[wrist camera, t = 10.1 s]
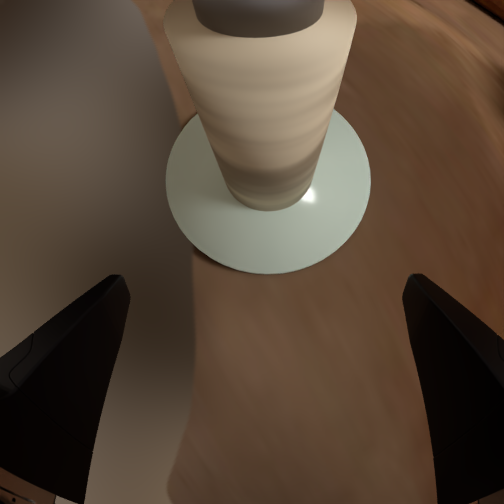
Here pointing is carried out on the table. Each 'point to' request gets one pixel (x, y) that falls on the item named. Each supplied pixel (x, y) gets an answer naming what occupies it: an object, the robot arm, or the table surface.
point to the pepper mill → (263, 86)
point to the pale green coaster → (268, 222)
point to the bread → (493, 6)
